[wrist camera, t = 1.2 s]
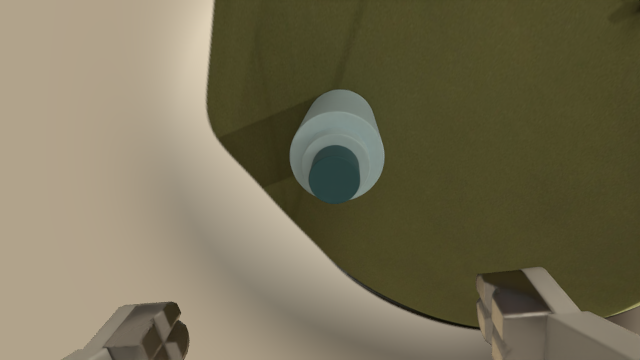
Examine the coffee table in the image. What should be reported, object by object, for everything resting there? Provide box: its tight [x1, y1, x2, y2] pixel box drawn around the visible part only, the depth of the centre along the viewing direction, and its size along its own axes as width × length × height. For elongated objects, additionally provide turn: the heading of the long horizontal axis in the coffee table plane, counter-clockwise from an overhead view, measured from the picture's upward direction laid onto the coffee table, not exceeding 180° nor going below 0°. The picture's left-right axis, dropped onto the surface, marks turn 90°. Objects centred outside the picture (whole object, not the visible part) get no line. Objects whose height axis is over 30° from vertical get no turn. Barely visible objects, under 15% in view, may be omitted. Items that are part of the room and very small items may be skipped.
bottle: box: [290, 90, 384, 204], centre depth 24 cm, size 6×6×12 cm
